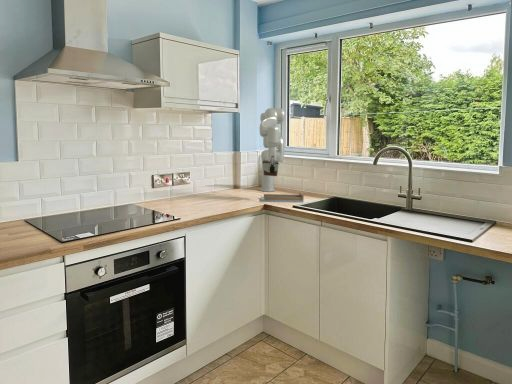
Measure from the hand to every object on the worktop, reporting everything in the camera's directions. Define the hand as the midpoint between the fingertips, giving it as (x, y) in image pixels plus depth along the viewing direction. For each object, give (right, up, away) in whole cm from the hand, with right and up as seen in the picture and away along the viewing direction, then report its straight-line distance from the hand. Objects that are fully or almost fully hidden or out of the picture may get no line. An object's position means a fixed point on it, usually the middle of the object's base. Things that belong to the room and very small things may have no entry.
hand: (271, 171), depth 280 cm
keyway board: (+7, -19, +3) cm, 21 cm away
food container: (0, -3, +1) cm, 3 cm away
